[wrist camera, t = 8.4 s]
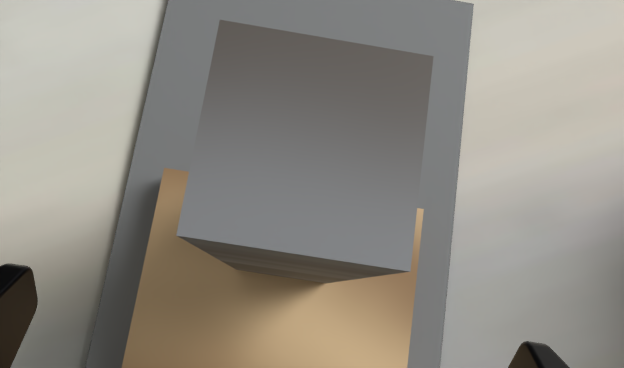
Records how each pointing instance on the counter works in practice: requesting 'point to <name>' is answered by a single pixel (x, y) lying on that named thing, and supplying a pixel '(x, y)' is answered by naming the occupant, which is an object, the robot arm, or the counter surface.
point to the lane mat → (186, 114)
